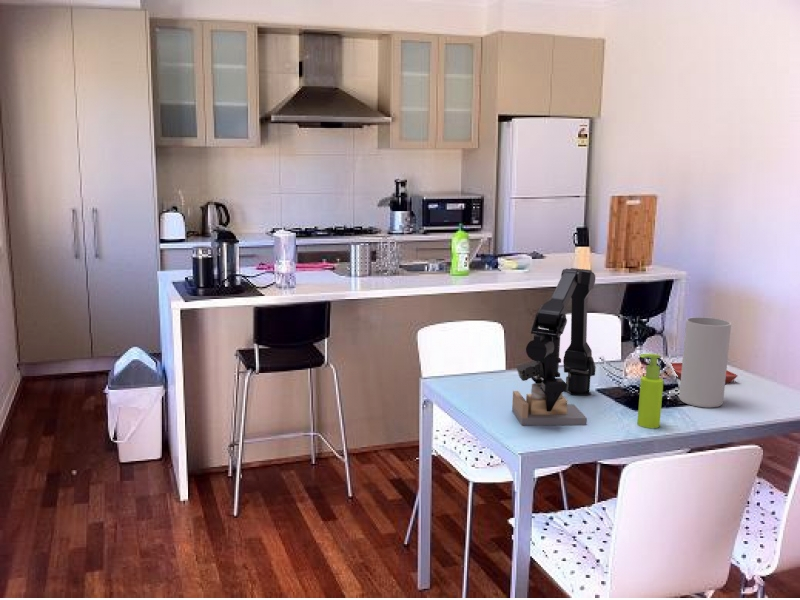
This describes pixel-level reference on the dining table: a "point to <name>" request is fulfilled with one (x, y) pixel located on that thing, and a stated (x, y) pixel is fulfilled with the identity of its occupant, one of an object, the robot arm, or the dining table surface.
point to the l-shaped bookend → (526, 418)
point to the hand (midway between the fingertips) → (545, 407)
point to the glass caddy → (544, 402)
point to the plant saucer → (678, 369)
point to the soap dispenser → (650, 394)
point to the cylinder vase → (704, 361)
